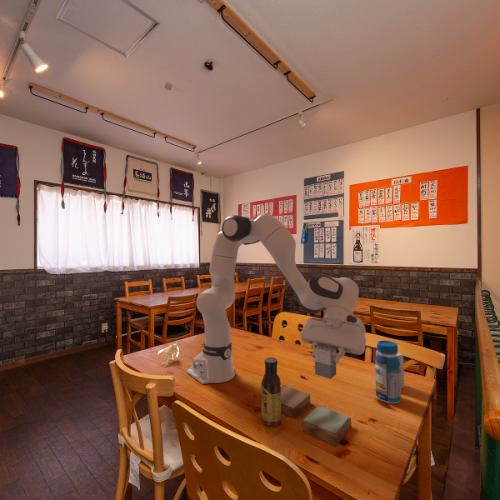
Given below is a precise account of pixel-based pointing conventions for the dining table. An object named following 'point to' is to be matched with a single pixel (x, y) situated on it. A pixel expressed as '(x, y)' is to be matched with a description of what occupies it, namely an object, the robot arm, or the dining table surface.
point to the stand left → (293, 401)
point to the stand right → (326, 424)
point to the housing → (325, 361)
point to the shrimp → (172, 350)
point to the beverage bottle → (388, 372)
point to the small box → (400, 357)
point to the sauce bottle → (271, 394)
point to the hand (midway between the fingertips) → (324, 359)
